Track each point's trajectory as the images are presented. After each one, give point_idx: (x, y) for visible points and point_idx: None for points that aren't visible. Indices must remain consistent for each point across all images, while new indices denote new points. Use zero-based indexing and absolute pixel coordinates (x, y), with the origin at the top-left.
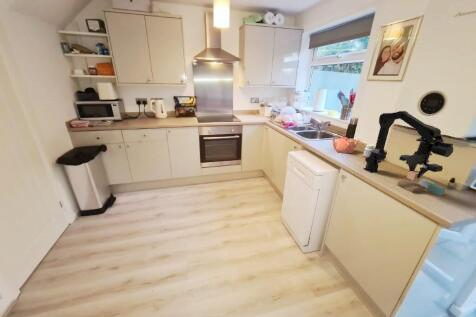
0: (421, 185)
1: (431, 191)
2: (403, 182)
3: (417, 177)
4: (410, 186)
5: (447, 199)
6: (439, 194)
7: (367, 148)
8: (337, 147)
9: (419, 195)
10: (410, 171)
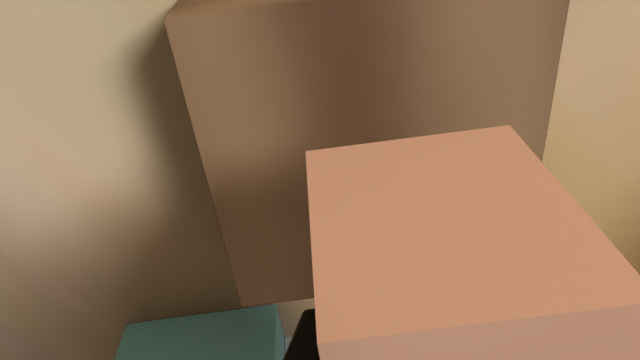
0: (306, 292)
1: (218, 320)
2: (490, 67)
3: (314, 319)
4: (285, 47)
5: (23, 333)
6: (123, 339)
7: None
8: None
9: (86, 47)
10: (617, 348)
